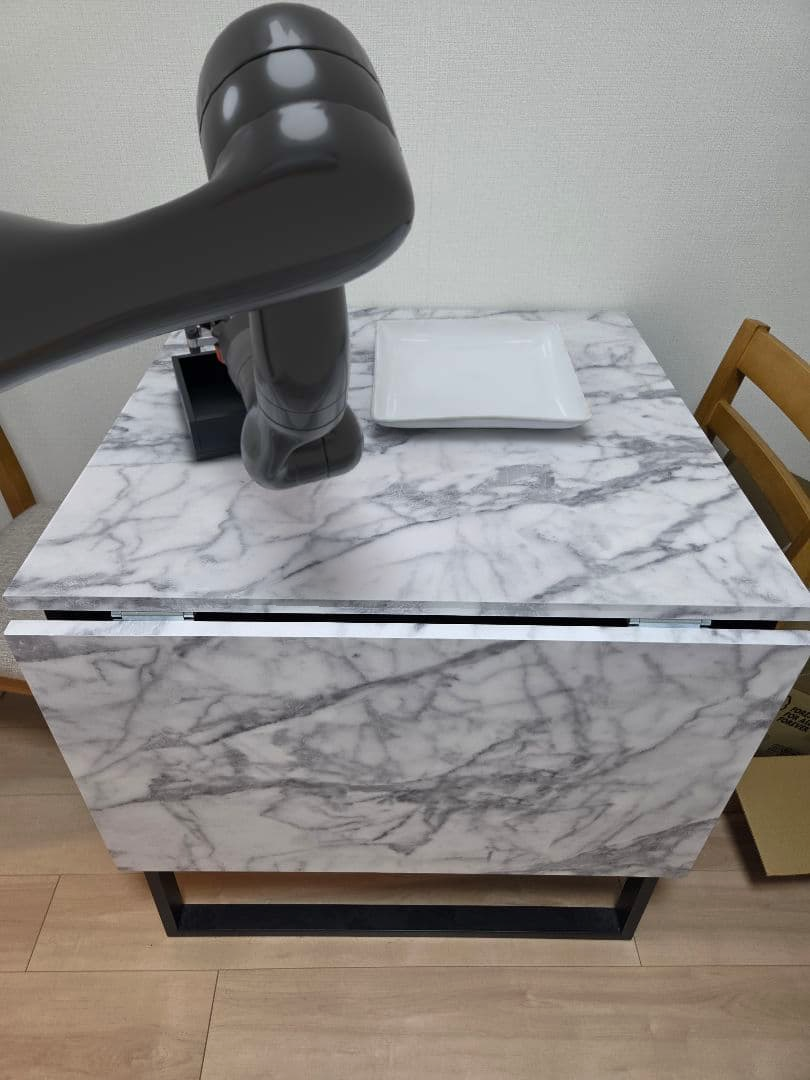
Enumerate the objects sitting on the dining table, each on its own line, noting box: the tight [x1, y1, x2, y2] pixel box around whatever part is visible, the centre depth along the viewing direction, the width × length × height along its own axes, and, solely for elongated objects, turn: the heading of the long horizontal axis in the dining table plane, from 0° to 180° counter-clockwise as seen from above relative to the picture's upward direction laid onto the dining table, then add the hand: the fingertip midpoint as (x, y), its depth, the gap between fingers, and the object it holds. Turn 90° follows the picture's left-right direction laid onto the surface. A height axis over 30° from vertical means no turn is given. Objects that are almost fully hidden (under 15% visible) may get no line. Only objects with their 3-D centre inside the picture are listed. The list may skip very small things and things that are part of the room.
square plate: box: [370, 318, 593, 429], centre depth 101 cm, size 27×27×4 cm
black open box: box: [170, 349, 247, 462], centre depth 95 cm, size 17×17×6 cm
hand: (234, 298), depth 88 cm, fingers closed on soda can, 7 cm apart
